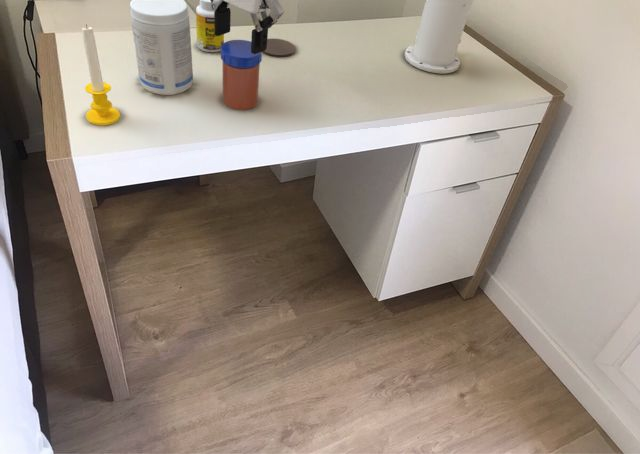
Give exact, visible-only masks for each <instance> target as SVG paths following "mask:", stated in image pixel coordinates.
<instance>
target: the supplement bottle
mask: <svg viewBox="0 0 640 454" xmlns="http://www.w3.org/2000/svg"><path fill="white" fill-rule="evenodd" d="M211 4H212V3H211V1H210V0H199V4H198V5H197V6H196V7H195V8H196V9H195V20H196V21H195V22H196V24H195V25H196V46H197V48H198V49H200V50H201V51H203V52H207V53H217V52H221V46H222V44H223V43H225V34H223V35H220V36H216V35H215V34H214V12H215V11H213V10H212V8H211Z"/></svg>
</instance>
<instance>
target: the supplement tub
mask: <svg viewBox="0 0 640 454" xmlns="http://www.w3.org/2000/svg"><path fill="white" fill-rule="evenodd" d="M129 8H130V11H129V13H130V21H131V22H130V23H131V29H132V35H133V36H132V37H133V43H134V49H135V56H136V57H135V58H136V64H137V65H136V66H137V70H138V78H139V82H140V85H141V86H142V87H143V89H145V90H147V92H150V93H153V94H156V95H163V96H164V95H165V96H172V95H177V94H180V93H183V92H185V91H187V90H188V89H190V88H191V87H192V85H193V83H194V72H193V71H194V69H193V53H192V38H191V26H190V25H191V24H190V22H191V21H190V12H189V7H188V4H187V2H186V1H185V0H131V1H130V2H129Z"/></svg>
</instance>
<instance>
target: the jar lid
mask: <svg viewBox="0 0 640 454" xmlns="http://www.w3.org/2000/svg"><path fill="white" fill-rule="evenodd" d="M220 60H221V61H222V63H223V62H224V63H226V64H227V65H229V66H232V67H237V68H251V67H255V66H257V65H259V64H260V65H261V63H262V62H263V61H262V60H263V52H260V53H257V54H253V53H251V40H246V39H230V40H227V41H224V43H223V44H222V46H221V50H220Z"/></svg>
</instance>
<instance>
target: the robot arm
mask: <svg viewBox="0 0 640 454" xmlns="http://www.w3.org/2000/svg"><path fill="white" fill-rule="evenodd" d="M210 1H211V3H212V4H211V8H212V10H213V11H215V12H214V34H215V35H216V36H220V35H223V34H224V35H226V34H228V33H230V32H231V18H232V17H231V16H232V15H231V8H230V7H229V5H231V6H233V7H236V8H237V9H240V10H242V11H245V12H246V13H249V14H250V17H251V19H252V20H251V21H252V23H253V25H254V26H253V27H254V29H252V30H251V40H250V41H251V53H253V54H257V53H260V52H262V51H265V50H266V48H267V39H268V36H269V29H271V28H272V27H273V25H275V24H276V23H277V22H278V21H279V19H280V18H281V17H282V16H283V14H284V13H285V9H284V8H283V6H282V4H281V3H280V1H279V0H210ZM473 2H474V0H425V2H424V6H423V10H422V13H421V17H420V20H419V25H418V29H417V32H416V37H415V40H414V43H413V45H409V46H408V47H407V48H406V49H405V51H404V58H405V60H406V62H407V63H409V64H410V65H411V66H413V67H415V68H417V69H419V70H422V71H424V72H428V73H433V74H441V75H442V74H451V73H454V72H456V71H457V70H458V69H459V67H460V64H461V61H460V59H459V57H458V56H457V52H458V47H459V46H460V44H461V43H462V35H463V32H464V29H465V26H466V23H467V20H468V17H469V13H470V11H471V9H472V4H473ZM269 10H270V12H269ZM260 17H261V18H262V19H261V18H260ZM262 53H263V52H262Z"/></svg>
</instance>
